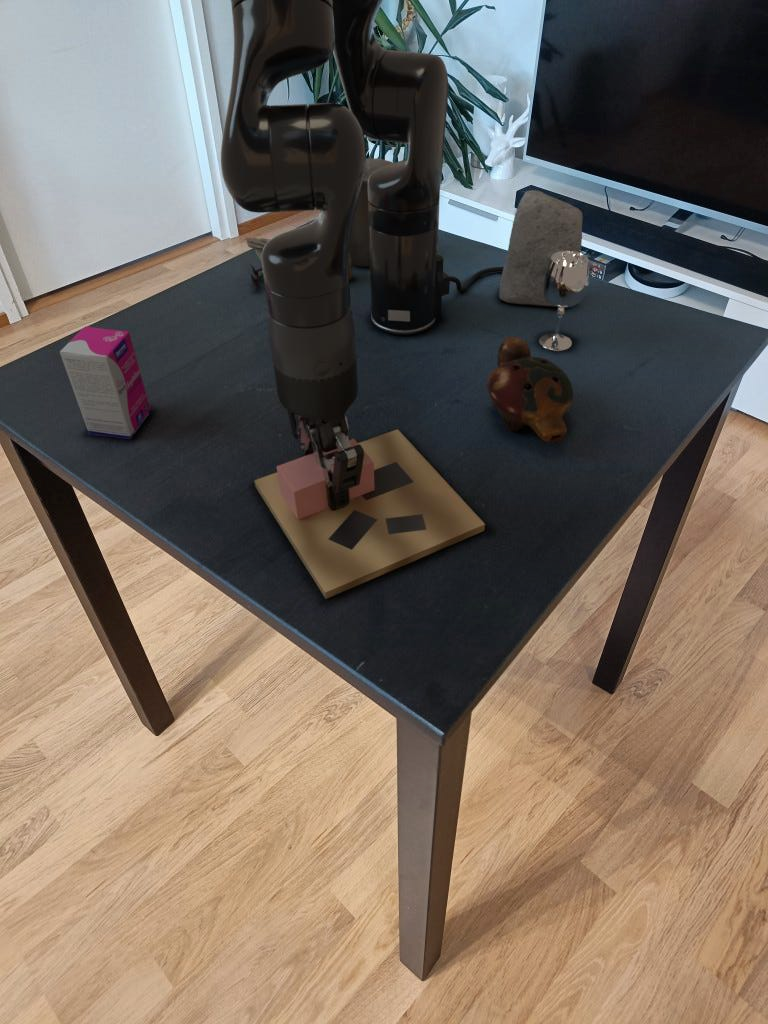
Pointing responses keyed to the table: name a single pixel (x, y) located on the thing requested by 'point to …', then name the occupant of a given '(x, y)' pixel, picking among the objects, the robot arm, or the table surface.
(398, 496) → the board
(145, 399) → the supplement box
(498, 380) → the brown ceramic rounded figure
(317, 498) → the eraser
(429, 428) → the table surface
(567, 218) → the decorative stone
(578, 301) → the wineglass
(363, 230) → the pillar candle
